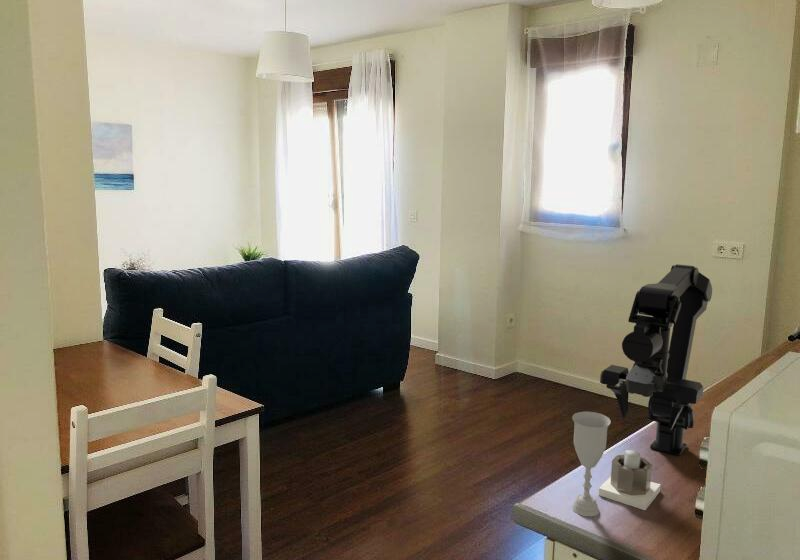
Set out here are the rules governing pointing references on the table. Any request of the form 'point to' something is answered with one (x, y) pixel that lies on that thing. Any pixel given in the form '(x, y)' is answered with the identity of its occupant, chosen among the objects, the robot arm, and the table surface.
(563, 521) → the table surface
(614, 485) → the hub
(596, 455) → the chalice
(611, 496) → the post plate
